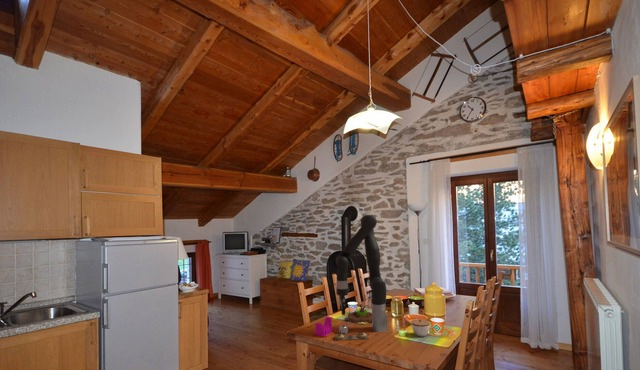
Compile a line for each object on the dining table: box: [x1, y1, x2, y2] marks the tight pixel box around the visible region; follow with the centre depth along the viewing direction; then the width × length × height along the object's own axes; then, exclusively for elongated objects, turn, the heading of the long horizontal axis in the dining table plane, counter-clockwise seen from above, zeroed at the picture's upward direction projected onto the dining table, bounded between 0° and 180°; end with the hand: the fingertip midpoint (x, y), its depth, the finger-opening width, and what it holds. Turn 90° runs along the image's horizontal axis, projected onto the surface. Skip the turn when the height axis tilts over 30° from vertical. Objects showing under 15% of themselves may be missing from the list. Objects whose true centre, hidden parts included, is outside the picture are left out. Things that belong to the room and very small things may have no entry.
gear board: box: [333, 332, 370, 342], centre depth 216 cm, size 21×6×3 cm, turn 95°
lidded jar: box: [411, 318, 430, 337], centre depth 220 cm, size 11×11×9 cm
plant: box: [347, 302, 372, 324], centre depth 254 cm, size 20×20×11 cm
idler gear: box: [338, 324, 349, 335], centre depth 227 cm, size 6×5×4 cm
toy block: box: [314, 316, 333, 338], centre depth 228 cm, size 15×6×8 cm, turn 150°
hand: (342, 312), depth 227 cm, fingers open, 8 cm apart
